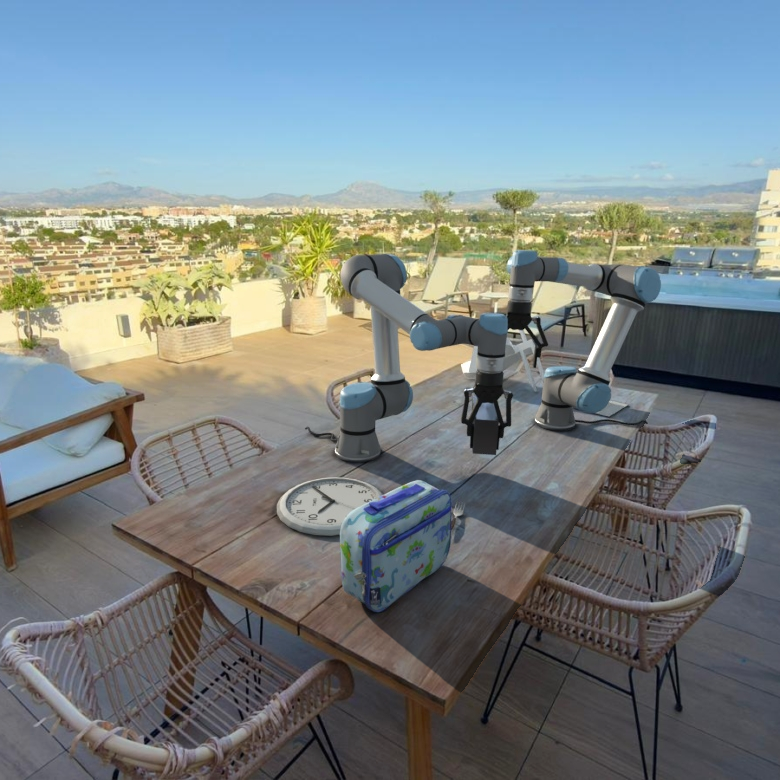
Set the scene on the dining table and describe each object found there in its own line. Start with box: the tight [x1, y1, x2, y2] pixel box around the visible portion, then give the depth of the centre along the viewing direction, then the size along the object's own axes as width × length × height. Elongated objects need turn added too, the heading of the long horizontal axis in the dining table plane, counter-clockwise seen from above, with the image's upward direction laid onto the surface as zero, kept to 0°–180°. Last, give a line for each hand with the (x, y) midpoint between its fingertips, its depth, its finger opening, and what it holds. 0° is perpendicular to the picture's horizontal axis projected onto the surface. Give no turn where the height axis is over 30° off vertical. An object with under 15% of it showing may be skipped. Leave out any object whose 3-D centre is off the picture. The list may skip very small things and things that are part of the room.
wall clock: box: [276, 476, 385, 537], centre depth 142 cm, size 30×2×30 cm
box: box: [471, 395, 500, 456], centre depth 157 cm, size 22×7×10 cm, turn 173°
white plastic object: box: [460, 329, 545, 392], centre depth 256 cm, size 37×45×31 cm
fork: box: [451, 500, 466, 531], centre depth 135 cm, size 3×16×2 cm, turn 160°
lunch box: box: [339, 479, 452, 613], centre depth 109 cm, size 26×11×21 cm, turn 134°
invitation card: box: [575, 400, 629, 418], centre depth 226 cm, size 21×1×15 cm
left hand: (483, 447), depth 151 cm, fingers closed on box, 7 cm apart
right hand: (513, 365), depth 172 cm, fingers open, 13 cm apart
